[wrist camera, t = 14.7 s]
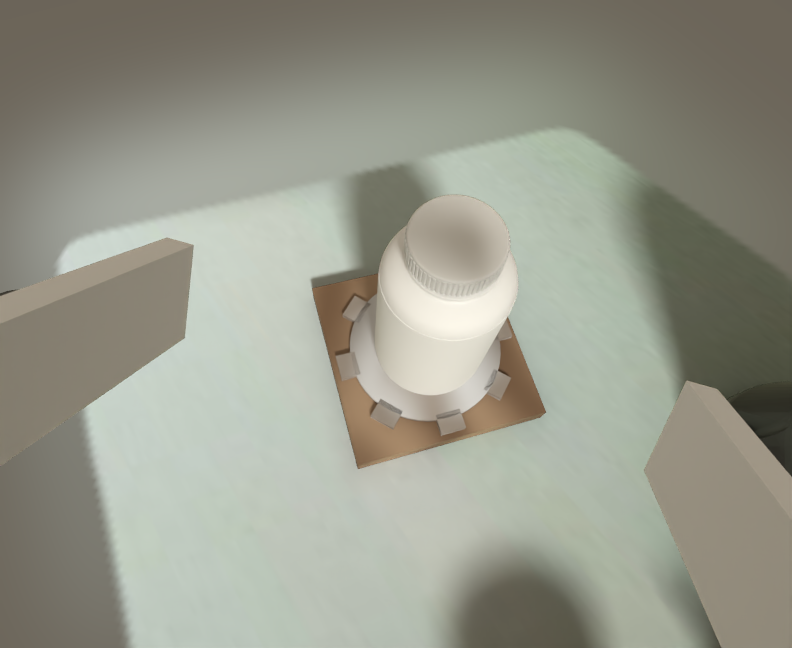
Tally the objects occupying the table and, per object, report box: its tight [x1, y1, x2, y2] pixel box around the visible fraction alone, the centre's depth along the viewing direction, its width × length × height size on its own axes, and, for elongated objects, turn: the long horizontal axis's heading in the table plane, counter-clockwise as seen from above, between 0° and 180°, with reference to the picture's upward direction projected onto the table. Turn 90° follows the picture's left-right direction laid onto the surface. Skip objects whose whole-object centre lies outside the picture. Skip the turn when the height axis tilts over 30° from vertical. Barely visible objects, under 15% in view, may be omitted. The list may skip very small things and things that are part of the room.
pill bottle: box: [375, 195, 518, 395], centre depth 35 cm, size 8×8×15 cm
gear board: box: [312, 274, 546, 469], centre depth 42 cm, size 14×14×2 cm
